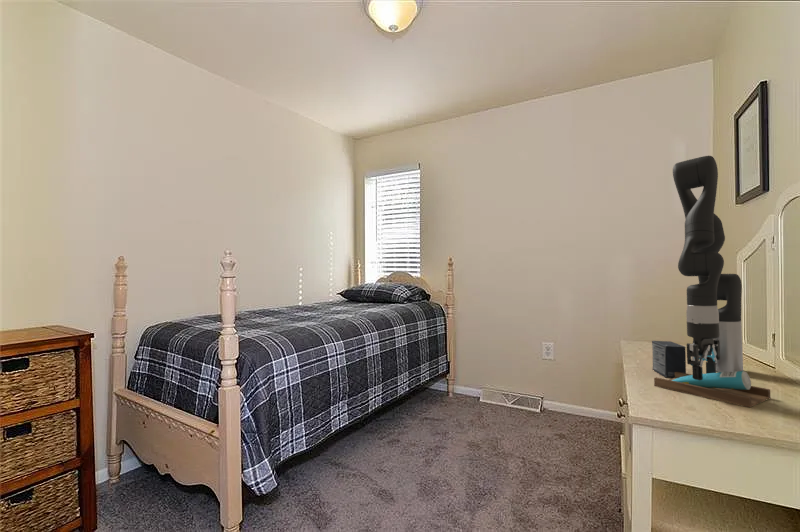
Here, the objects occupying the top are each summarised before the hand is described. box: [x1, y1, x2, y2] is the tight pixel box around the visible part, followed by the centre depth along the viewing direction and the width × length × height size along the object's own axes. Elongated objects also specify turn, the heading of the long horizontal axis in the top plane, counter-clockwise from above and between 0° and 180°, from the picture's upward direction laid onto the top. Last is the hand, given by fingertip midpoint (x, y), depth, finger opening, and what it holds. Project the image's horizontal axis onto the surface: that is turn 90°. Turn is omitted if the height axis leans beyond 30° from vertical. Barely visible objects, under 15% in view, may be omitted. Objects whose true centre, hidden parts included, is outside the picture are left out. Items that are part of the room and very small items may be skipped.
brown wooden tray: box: [653, 372, 772, 408], centre depth 114 cm, size 13×23×2 cm, turn 29°
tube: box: [672, 370, 752, 390], centre depth 114 cm, size 7×5×19 cm
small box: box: [651, 340, 687, 379], centre depth 133 cm, size 11×6×10 cm, turn 168°
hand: (704, 377), depth 115 cm, fingers open, 7 cm apart
